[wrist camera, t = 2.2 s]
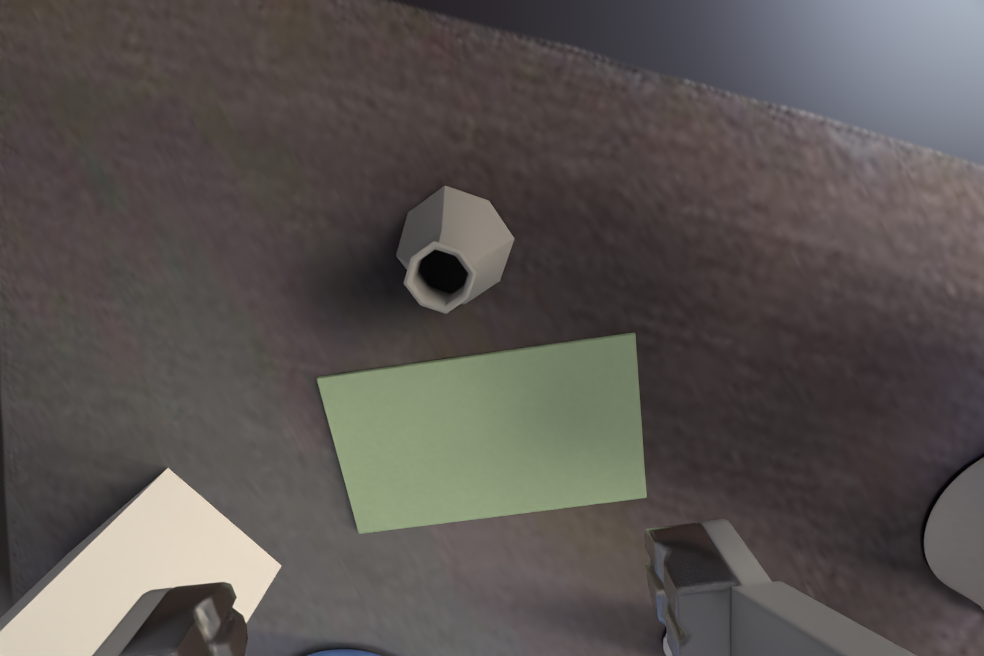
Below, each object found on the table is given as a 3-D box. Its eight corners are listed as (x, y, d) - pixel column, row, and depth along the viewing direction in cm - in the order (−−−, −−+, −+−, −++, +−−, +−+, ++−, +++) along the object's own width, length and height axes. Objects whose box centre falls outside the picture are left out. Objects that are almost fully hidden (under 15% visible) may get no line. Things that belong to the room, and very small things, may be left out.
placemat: (634, 332, 34) (635, 333, 34) (645, 494, 38) (646, 497, 38) (318, 376, 35) (316, 378, 35) (360, 530, 39) (358, 534, 39)
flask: (534, 235, 32) (551, 262, 23) (467, 321, 34) (457, 381, 25) (441, 163, 31) (419, 161, 22) (377, 257, 33) (330, 293, 23)
